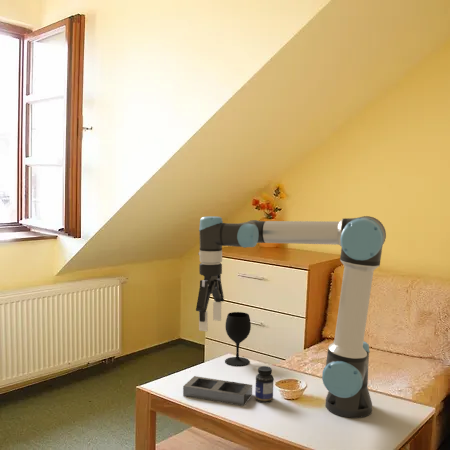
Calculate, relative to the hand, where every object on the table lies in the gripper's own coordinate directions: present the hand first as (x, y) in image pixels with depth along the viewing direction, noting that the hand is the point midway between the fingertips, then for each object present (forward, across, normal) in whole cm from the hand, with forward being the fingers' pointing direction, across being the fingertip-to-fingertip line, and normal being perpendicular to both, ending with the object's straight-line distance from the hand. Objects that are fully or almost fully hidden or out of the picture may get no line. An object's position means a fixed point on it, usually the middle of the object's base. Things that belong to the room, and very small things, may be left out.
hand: (210, 325), depth 176 cm
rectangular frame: (+26, -5, +1) cm, 27 cm away
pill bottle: (+26, -8, +17) cm, 32 cm away
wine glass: (+26, -40, -3) cm, 48 cm away
